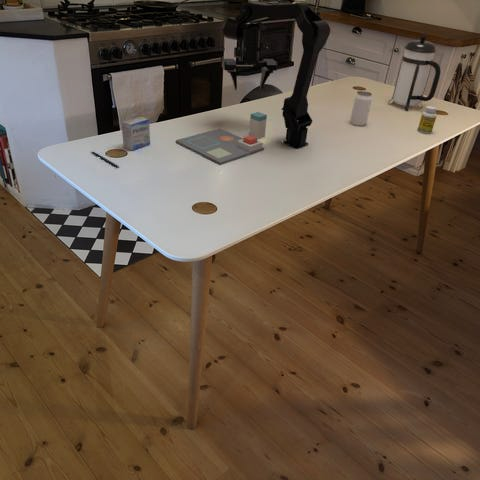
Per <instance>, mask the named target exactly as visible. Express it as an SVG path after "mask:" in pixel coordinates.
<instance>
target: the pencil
mask: <svg viewBox="0 0 480 480" xmlns="http://www.w3.org/2000/svg"><path fill="white" fill-rule="evenodd" d="M90 153H91V154H92V153H93V154H95V155H96V156H95V155H94V156H95V157H97V156H98V157H100V158H101V159H100V158H99V159H100V160H101V161H103V160H104V162H105V163H107V164H108V163H109V164H108V165H110V164H111V165H110V166H112V167H114V168H115V167H116V169H119V168H120V166H119V165H118V164H116V163H115V162H113V161H111V160H110V159H107V158H106V157H104V156H102V155H100V154H99V153H97V152H95V151H91V152H90ZM93 154H92V155H93ZM98 157H97V158H98Z"/></svg>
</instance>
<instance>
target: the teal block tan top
mask: <svg viewBox="0 0 480 480" xmlns="http://www.w3.org/2000/svg"><path fill="white" fill-rule="evenodd" d="M249 117H250V119H249V131H248V133H249V134H248V136H249V135H251V136H253V137H256V138H257V140H259V139H263V138H265V136H266V127H267V120H268V119H267V118H268V116H267V114H265V113H263V112H260V111H257V112H254V113H253V112H252V113H250V116H249Z"/></svg>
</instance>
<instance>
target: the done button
mask: <svg viewBox="0 0 480 480" xmlns="http://www.w3.org/2000/svg"><path fill="white" fill-rule="evenodd" d="M257 140H258V139H257V138H256V137H253V136H251V135H249V134H248V135H246V136H243V142H245V143H247V144H249V145H251V144H254V143H257Z"/></svg>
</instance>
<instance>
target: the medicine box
mask: <svg viewBox="0 0 480 480" xmlns="http://www.w3.org/2000/svg"><path fill="white" fill-rule="evenodd" d="M120 124H121V132H122V133H121V134H122V135H121V136H122V145H123V148H125V149H128V150H129V151H132V152H134V151H136V150H139V149H142V148H144V147H148V146H149V145H151V131H150V129H151V128H150V119H148V118H146V117H143V116H138V117H134V118H131V119H128V120H124V121H121V123H120Z"/></svg>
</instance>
